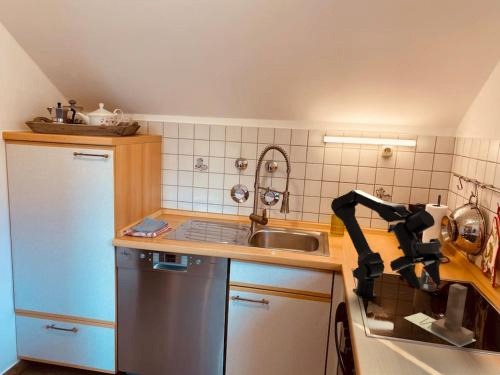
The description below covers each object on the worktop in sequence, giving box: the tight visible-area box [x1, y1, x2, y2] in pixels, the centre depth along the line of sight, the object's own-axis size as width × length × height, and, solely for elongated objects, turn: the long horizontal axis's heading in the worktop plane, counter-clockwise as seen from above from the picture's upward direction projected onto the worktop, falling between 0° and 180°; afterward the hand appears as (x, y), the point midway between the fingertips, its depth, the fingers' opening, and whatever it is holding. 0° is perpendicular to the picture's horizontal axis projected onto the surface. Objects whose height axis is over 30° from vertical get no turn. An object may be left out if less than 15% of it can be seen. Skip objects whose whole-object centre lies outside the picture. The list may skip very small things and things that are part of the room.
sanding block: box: [431, 283, 474, 345], centre depth 111 cm, size 9×6×15 cm, turn 31°
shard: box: [366, 300, 388, 318], centre depth 126 cm, size 11×8×2 cm
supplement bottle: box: [419, 264, 438, 293], centre depth 148 cm, size 6×6×11 cm
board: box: [404, 312, 477, 348], centre depth 115 cm, size 18×8×1 cm, turn 31°
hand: (429, 287), depth 117 cm, fingers open, 9 cm apart
